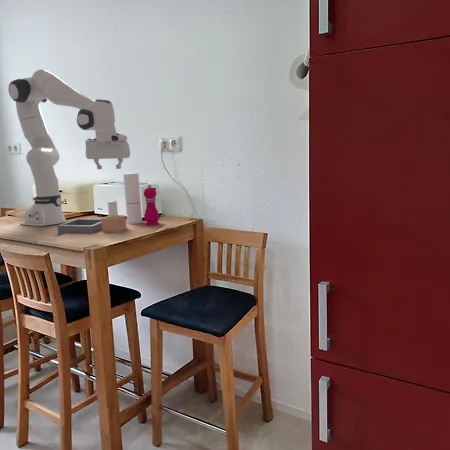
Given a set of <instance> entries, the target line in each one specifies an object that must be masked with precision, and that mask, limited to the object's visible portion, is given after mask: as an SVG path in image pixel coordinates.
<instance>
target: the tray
mask: <svg viewBox="0 0 450 450" xmlns="http://www.w3.org/2000/svg"><path fill="white" fill-rule="evenodd" d="M56 228H57V229H56V230H57V235H65V234H67V233H73V234H74V233H76V234H77V233H78V234H80V233H81V234H86V233H87V234H94V233H96V232H99V231H100V230H102V222H101V218H75V219H72V220H69V221H65V222H63V223H59V224H56Z"/></svg>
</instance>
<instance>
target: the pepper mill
mask: <svg viewBox="0 0 450 450" xmlns="http://www.w3.org/2000/svg"><path fill="white" fill-rule="evenodd" d="M157 194H158V193H157V190H156V189H155V188H154V187H152V185H151V184H148V185H147V188H145V189H144V190H143V197H144V199H145V201H144V202H146V206H145V207H146V208H145V211H144V214H143V215H144V216H143V219H144V220H145V226H149V227H151V226H152V227H153V226H158V225H160V222H159V220H160V214H159V211H158V209H157V207H156V201H157V200H156V196H157Z"/></svg>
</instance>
